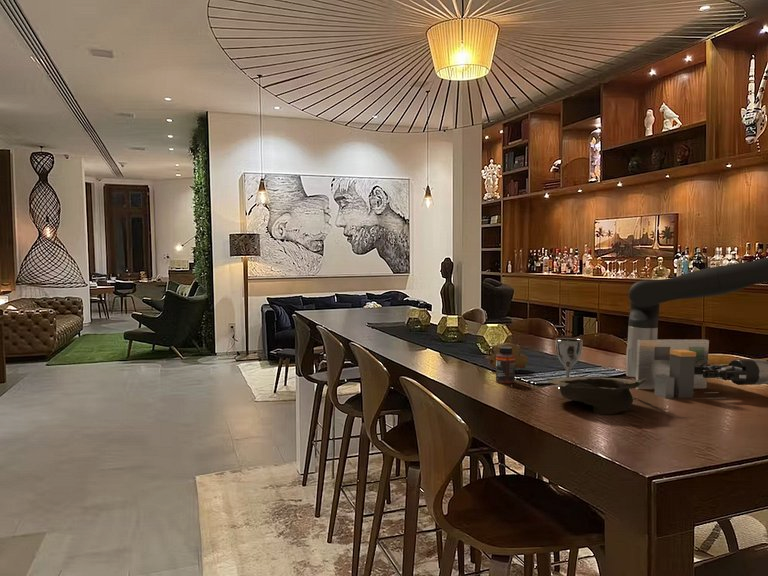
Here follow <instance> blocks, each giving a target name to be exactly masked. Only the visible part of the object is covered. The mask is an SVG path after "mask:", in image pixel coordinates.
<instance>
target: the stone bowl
mask: <svg viewBox="0 0 768 576" xmlns="http://www.w3.org/2000/svg"><path fill="white" fill-rule="evenodd" d="M645 381H646V379H642V380H637V381H636V380H633V379H624V378H618V377H617V378H616V377H603V376H602V377H598V376H593V377H591V376H590V377H589V376H580V377H577V376H575V377H569V378H566V377H560V378H554V379H548V380H547V382H548V383H551V384H553V385H556V386H557V385H560V389H559V393H560V394H561V396H562V397H563V398H564V399H567V400H570V401H573V402H577V403H584V404H585V405H589V406H592V408H593V409H592V410H593V412H594V413H595V414H597V415H612V414H618V413H621V412H627V411H629V410H630V409H631V405H632V404H633V402H634V398H633V394H632V393H631V390H630V389H636V388H637V387H638V386H639V385H641V384H642V383H644V382H645Z"/></svg>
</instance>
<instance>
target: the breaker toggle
mask: <svg viewBox="0 0 768 576" xmlns="http://www.w3.org/2000/svg"><path fill="white" fill-rule="evenodd" d="M695 357H696V352H693V351H689V350H670V373H669V376H670V377H674V397H675V398H677V399H679V398H694V389H695V388H694V368H695Z"/></svg>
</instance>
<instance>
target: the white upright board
mask: <svg viewBox="0 0 768 576" xmlns="http://www.w3.org/2000/svg"><path fill="white" fill-rule="evenodd" d="M709 344H710V340H709V339H657V340H638V342H637V364H636V378H635V381H637V380H642V379H646V381H645V382H644V383H642V384H641V385H639V386H638V387H637V388H635V389H636V390H654V393H653V395H655V396H658V397H661V398H663V399H674V397H675V396H674V377H670V376H669V373H670V350H689V351H693V352H696V357H695V367H700V365H702V364H709V346H710V345H709ZM707 383H708V378H704V377H703V375H694V388H693V389H707V385H708V384H707ZM705 394H720V392H718V391H717V392H716V391H715V392H714V391H713V392H712V391H711V392H705ZM705 399H707V400H709V399H711V400H713V399H714V400H716V399H721V400H723V399H725V397H700V398H699V397H698V398H697V397H696V398H695V397H693V398H678V400H705Z"/></svg>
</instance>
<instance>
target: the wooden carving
mask: <svg viewBox="0 0 768 576" xmlns="http://www.w3.org/2000/svg"><path fill="white" fill-rule="evenodd" d="M499 347H512V354H514V355H515V369H517V368H519V369H525V368H526V366H527V364H528V361H529V360H530V357H529V356H527V355H526V354H523V353H521V352H522V349H521V346H520V345H519V344H517V343H516V344H513V343H511V342H501V343H498V344H496V345H495V344H494V345H492V346H491V354H488V355H487V354H485V355H484V358H485V359H486V360H487V361H488V362H487V364H488V365H489V366H491V368H494V369H495V370H496V355H497V354H498V353H499V352H500V351H499Z"/></svg>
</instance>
